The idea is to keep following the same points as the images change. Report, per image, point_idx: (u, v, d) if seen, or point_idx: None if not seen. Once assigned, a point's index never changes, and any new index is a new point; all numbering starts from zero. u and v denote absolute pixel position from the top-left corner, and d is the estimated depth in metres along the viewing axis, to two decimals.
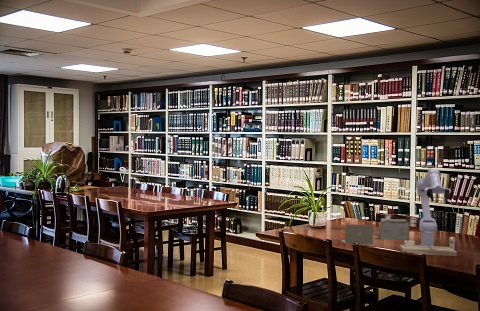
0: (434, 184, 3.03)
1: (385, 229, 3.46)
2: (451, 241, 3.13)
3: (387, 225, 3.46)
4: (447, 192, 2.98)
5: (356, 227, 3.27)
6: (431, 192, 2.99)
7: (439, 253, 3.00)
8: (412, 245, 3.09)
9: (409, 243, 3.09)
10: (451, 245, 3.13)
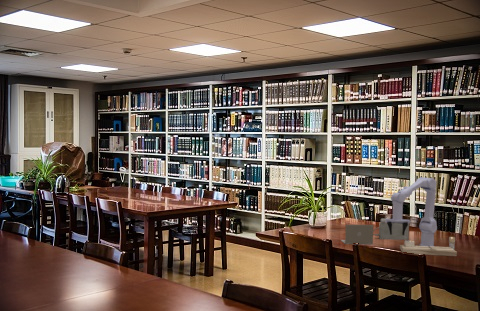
0: (395, 216, 3.10)
1: (385, 229, 3.46)
2: (451, 241, 3.13)
3: (387, 225, 3.46)
4: (405, 227, 3.10)
5: (356, 227, 3.27)
6: (390, 227, 3.11)
7: (439, 253, 3.00)
8: (412, 245, 3.09)
9: (409, 243, 3.09)
10: (451, 245, 3.13)
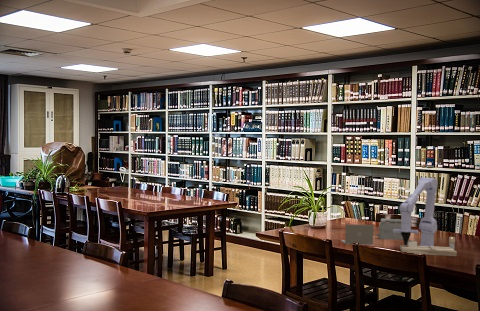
0: (403, 227, 3.10)
1: (385, 229, 3.46)
2: (451, 241, 3.13)
3: (387, 225, 3.46)
4: (408, 237, 3.10)
5: (356, 227, 3.27)
6: (404, 237, 3.10)
7: (439, 253, 3.00)
8: (415, 245, 3.09)
9: (412, 243, 3.09)
10: (451, 245, 3.13)
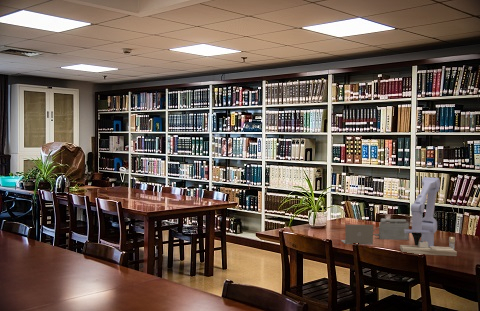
0: (414, 227, 3.09)
1: (385, 229, 3.46)
2: (451, 241, 3.13)
3: (387, 225, 3.46)
4: (419, 237, 3.09)
5: (356, 227, 3.27)
6: (415, 238, 3.09)
7: (439, 253, 3.00)
8: (426, 246, 3.08)
9: (423, 244, 3.08)
10: (451, 245, 3.13)
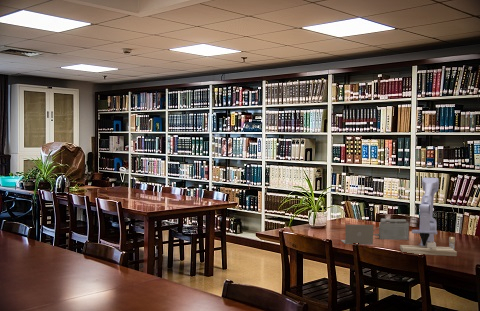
0: (422, 227, 3.08)
1: (385, 229, 3.46)
2: (451, 241, 3.13)
3: (387, 225, 3.46)
4: (427, 237, 3.08)
5: (356, 227, 3.27)
6: (423, 238, 3.09)
7: (439, 253, 3.00)
8: (433, 246, 3.07)
9: (430, 244, 3.08)
10: (451, 245, 3.13)
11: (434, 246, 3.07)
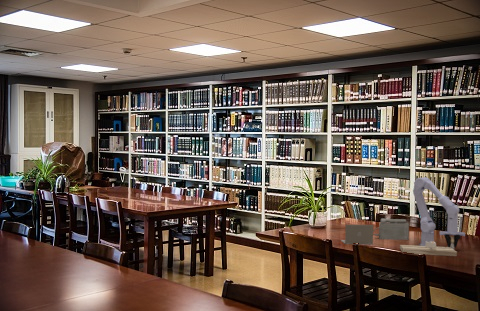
0: (450, 229, 3.12)
1: (385, 229, 3.46)
2: (451, 241, 3.13)
3: (387, 225, 3.46)
4: (457, 239, 3.12)
5: (356, 227, 3.27)
6: (448, 239, 3.13)
7: (439, 253, 3.00)
8: (434, 246, 3.07)
9: (431, 244, 3.08)
10: (451, 245, 3.13)
11: (434, 246, 3.07)
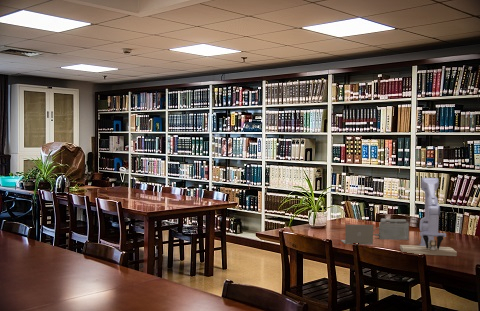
0: (431, 230, 3.01)
1: (385, 229, 3.46)
2: (431, 244, 3.02)
3: (387, 225, 3.46)
4: (440, 241, 3.00)
5: (356, 227, 3.27)
6: (427, 240, 3.02)
7: (439, 253, 3.00)
8: None
9: None
10: (431, 248, 3.02)
11: None
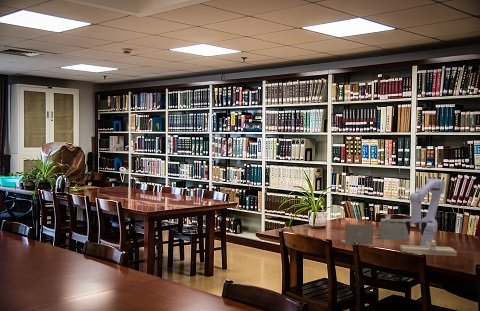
0: (413, 216, 3.12)
1: (385, 229, 3.46)
2: (432, 244, 3.02)
3: (387, 225, 3.46)
4: (424, 227, 3.11)
5: (356, 227, 3.27)
6: (409, 227, 3.13)
7: (439, 253, 3.00)
8: None
9: None
10: (432, 248, 3.02)
11: None
